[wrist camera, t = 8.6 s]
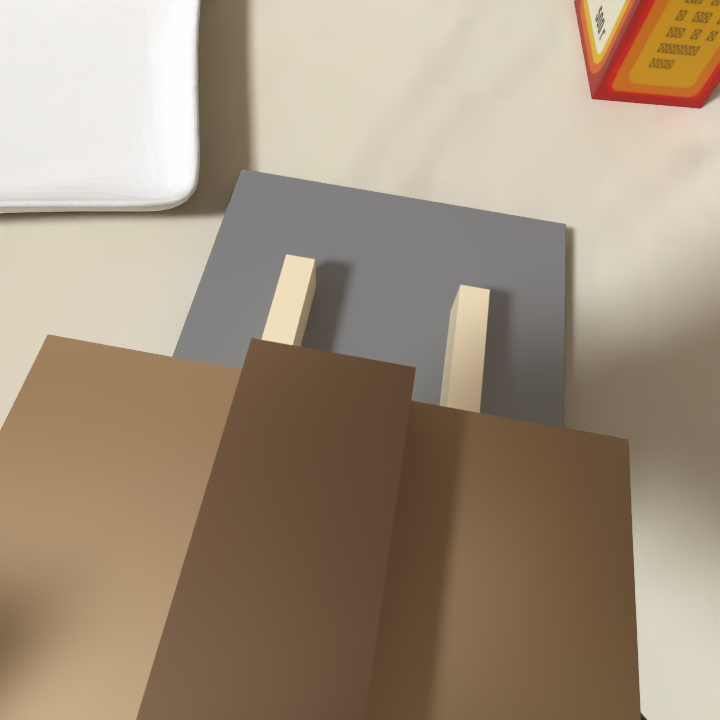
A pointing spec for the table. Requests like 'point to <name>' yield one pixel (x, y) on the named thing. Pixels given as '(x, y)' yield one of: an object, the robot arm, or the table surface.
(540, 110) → the table surface
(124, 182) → the salad plate
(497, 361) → the groove board
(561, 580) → the wooden board
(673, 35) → the baking soda box
